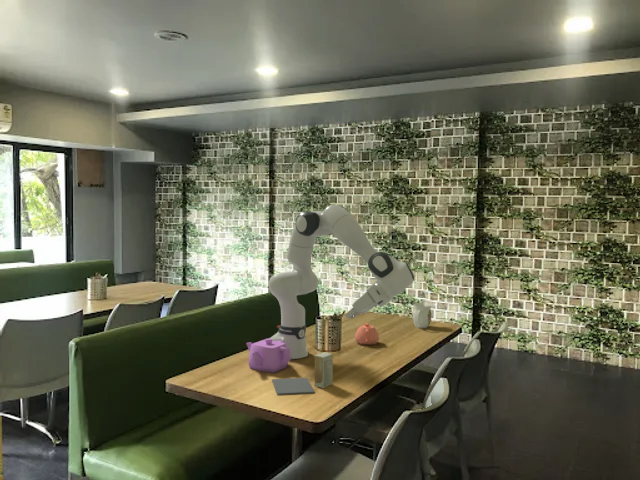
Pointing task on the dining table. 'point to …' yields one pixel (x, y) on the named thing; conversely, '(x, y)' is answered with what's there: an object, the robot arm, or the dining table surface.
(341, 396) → the dining table surface
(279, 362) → the teakettle
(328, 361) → the skincare box
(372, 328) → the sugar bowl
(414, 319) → the pitcher
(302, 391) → the mat
